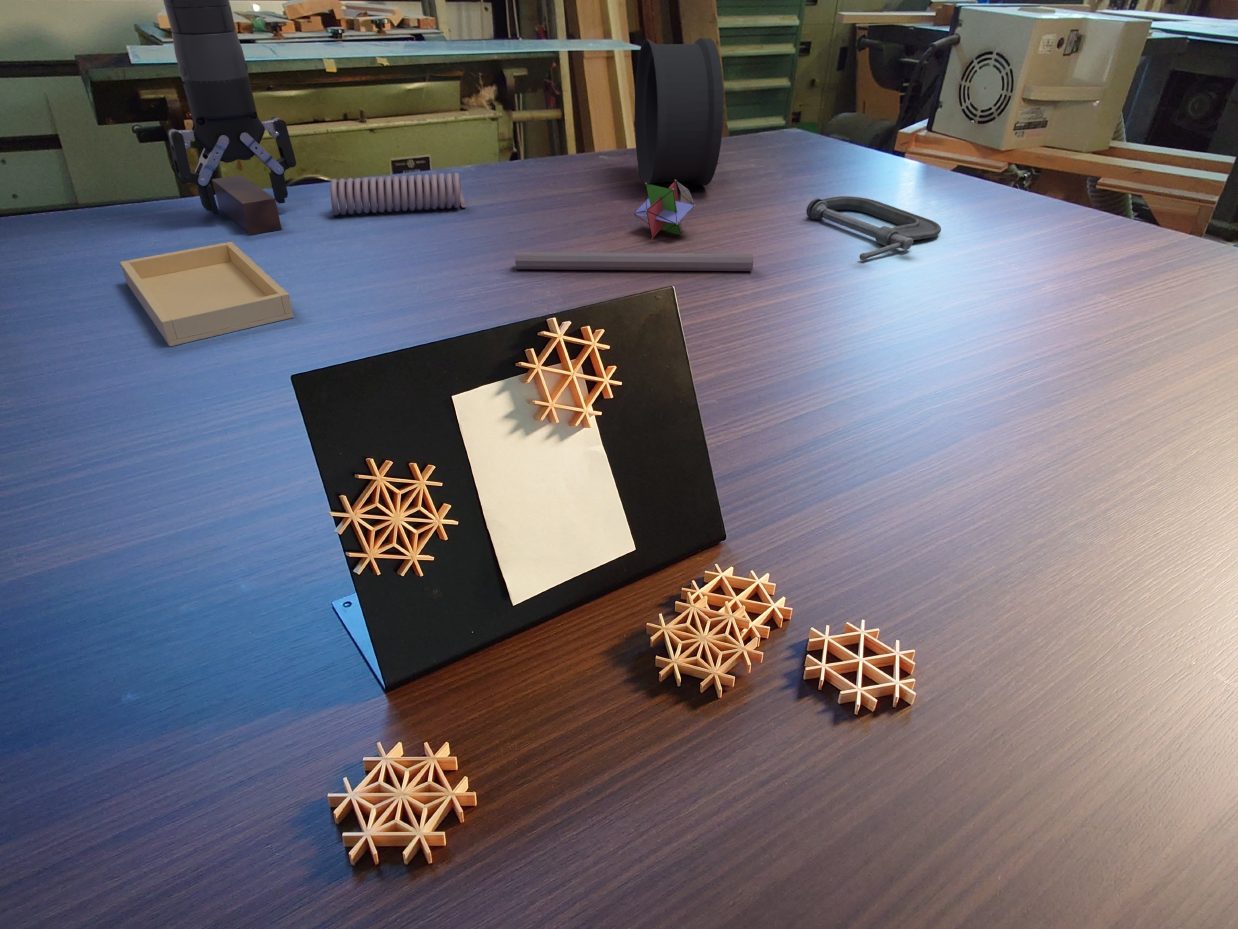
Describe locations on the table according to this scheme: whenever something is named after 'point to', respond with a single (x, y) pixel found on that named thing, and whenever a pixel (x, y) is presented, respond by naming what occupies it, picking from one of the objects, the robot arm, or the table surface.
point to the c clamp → (889, 237)
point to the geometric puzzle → (665, 208)
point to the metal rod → (634, 261)
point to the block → (247, 204)
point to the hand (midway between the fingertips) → (247, 207)
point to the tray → (205, 292)
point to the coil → (396, 193)
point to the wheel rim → (678, 111)
